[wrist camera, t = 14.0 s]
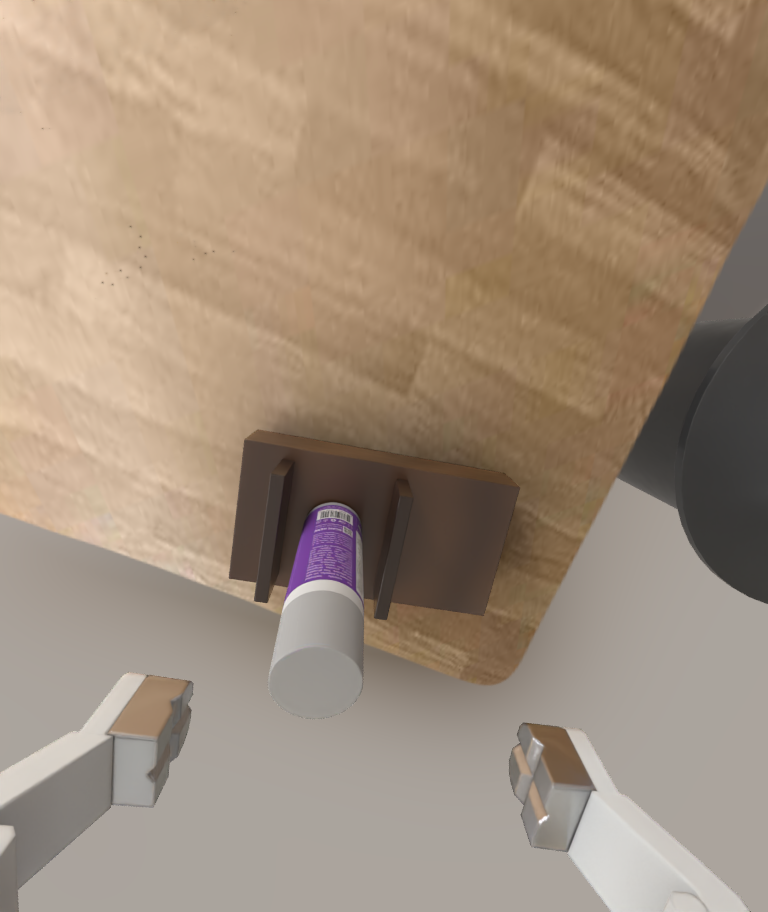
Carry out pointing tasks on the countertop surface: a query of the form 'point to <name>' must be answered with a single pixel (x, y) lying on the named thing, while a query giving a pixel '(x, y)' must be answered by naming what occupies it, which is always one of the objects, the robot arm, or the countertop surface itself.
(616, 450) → the countertop surface
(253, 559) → the brown two-slot stand
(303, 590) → the container
